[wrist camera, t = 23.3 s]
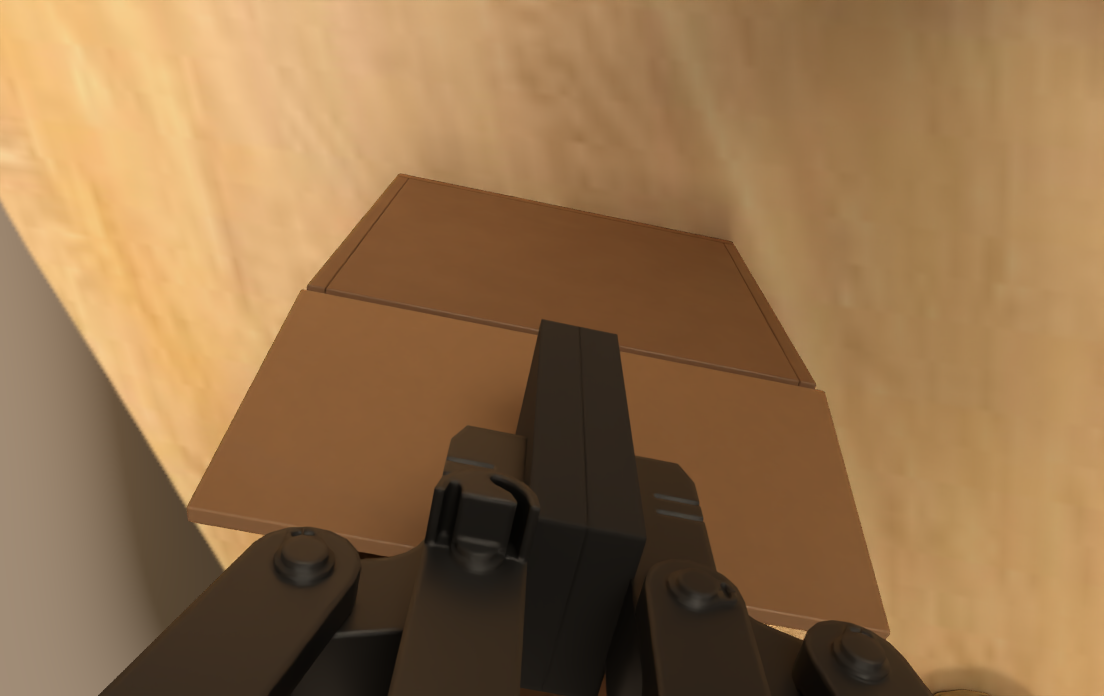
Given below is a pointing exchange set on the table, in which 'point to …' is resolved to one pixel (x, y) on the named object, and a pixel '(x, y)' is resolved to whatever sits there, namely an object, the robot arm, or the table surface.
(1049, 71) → the table surface
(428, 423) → the flap
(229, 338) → the table surface
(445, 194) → the carton
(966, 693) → the squeeze bottle
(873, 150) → the table surface
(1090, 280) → the table surface
